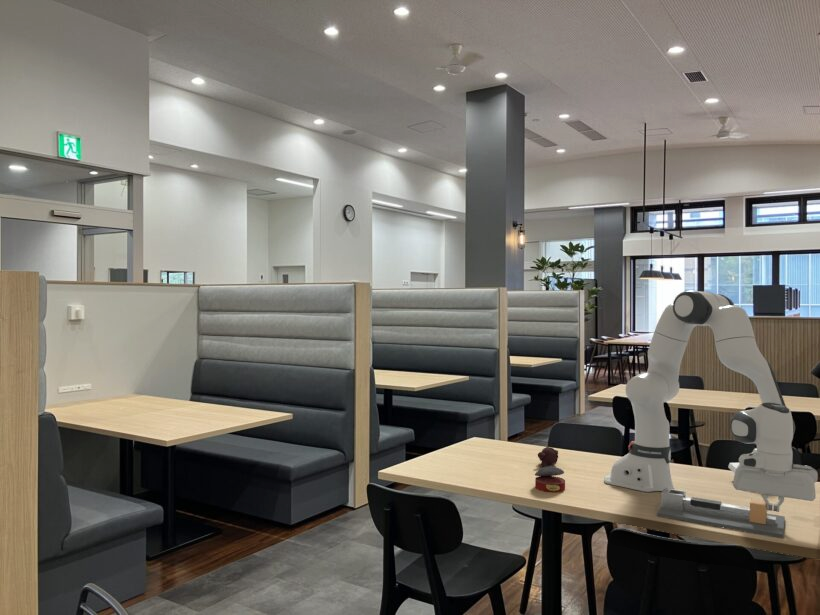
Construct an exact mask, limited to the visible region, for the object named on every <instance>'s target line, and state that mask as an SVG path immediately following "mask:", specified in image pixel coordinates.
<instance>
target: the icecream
mask: <svg viewBox="0 0 820 615" xmlns="http://www.w3.org/2000/svg"><path fill="white" fill-rule="evenodd" d="M537 458H538V459H539V461H540V462H541V463H540V467H541V468H543V467H547V466H552V465H554V464H556V463H557V462H558V458H559V450H557V449H554V447H550V446H546V447H544V448H543V449H542V450H541V451H539V452H538V454H537Z"/></svg>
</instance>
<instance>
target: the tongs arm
mask: <svg viewBox="0 0 820 615" xmlns="http://www.w3.org/2000/svg"><path fill="white" fill-rule="evenodd" d="M683 504H688V505H694V506H700V507H706V508H712V509H718V510H724V511H730V512H737V513H743V514H749V515H750V506H748V507H747V506H744V505H743V506H742V505H737V504H729V503H724V502H722V501H721V500H713V499H708V498H702V497H694V496H692V497H687V496H686V497H683Z"/></svg>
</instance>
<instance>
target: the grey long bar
mask: <svg viewBox="0 0 820 615" xmlns="http://www.w3.org/2000/svg"><path fill="white" fill-rule="evenodd" d="M686 492H687V491H685V490H679V489H675V488H673V489H668V488H664V490H663V491H660V494H661V498H660V499H661V500H660V508H661V507H663V508H669V509H675V510H681V511H683V510H688V511H694V512H700V513H706V514H712V515H718V516H724V517H730V518H735V519H741V520H747V521H750V515H749V514H743V513H737V512H730V511H724V510H718V509H712V508H706V507H700V506H694V505H688V504H683V497H687V496H686V494H687V493H686ZM766 524H771V525H776V517H773V516H767V515H766Z"/></svg>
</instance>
